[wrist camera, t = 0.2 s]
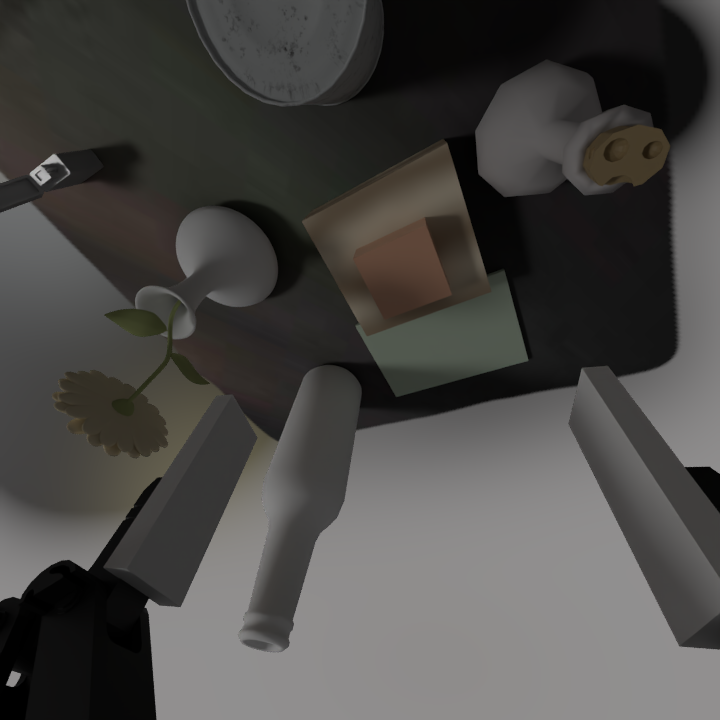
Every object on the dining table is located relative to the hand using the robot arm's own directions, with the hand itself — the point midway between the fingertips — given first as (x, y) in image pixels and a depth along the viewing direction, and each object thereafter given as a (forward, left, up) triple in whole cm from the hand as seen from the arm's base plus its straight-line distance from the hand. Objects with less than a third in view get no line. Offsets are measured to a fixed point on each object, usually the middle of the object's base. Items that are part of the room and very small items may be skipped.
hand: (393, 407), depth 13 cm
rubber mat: (+16, -1, -27) cm, 31 cm away
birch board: (+2, -1, -27) cm, 27 cm away
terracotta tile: (+3, -1, -23) cm, 23 cm away
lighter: (-19, -29, -27) cm, 44 cm away
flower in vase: (-4, -19, -27) cm, 33 cm away
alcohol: (+17, -18, -27) cm, 37 cm away
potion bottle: (-2, +12, -27) cm, 30 cm away
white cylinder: (-16, 0, -27) cm, 31 cm away
